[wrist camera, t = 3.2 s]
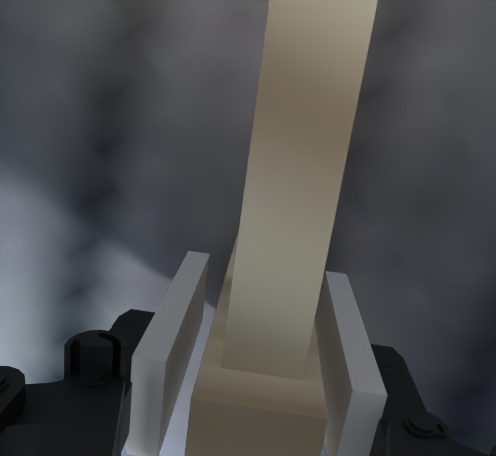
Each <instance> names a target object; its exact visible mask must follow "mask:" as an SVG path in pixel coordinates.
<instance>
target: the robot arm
mask: <svg viewBox="0 0 496 456" xmlns="http://www.w3.org/2000/svg"><path fill="white" fill-rule="evenodd" d="M209 255H210V254H207V253H201V252H194V251H188V253H187V255H186V256H185V258H184V260H183V262H182V264H181V266H180V268H179V269H178V271H177V273H176V275H175V277H174V279H173V281H172V283H171V284H170V286H169V288H168V290H167V292H166V294H165V296H164V298H163V299H162V301H161V303H160V305H159V307H158V309H157V311H156V312H155V313H154V312H147V311H141V310H134V309H131V310H129V311H127V312H125V313H124V314H122V315H120V316H119V317H118V318H117V320H116V321H115V323H114V324H113V326H112V328H111V329H110V330H109V331H105V330H90V331H86V332H82V333H78V334H77V335H75V336H73V337H71V338H70V339H69V340H68V341H67V342H66V344H65V346H64V379H63V380H61V381H57V382H50V383H39V384H25V376H24V374H23V373H22V372H21V371H20V370H19V369H16V368H13V367H10V366H0V456H121V451H122V449H123V446H124V444H125V442H126V439H127V449H126V454H130V455H136V456H159V453H160V450H161V446H162V443H163V440H164V437H165V434H166V431H167V428H168V425H169V422H170V419H171V416H172V413H173V409H174V406H175V403H176V400H177V397H178V394H179V391H180V388H181V385H182V382H183V379H184V375H185V372H186V369H187V366H188V363H189V360H190V357H191V354H192V351H193V348H194V345H195V342H196V338H197V335H198V332H199V329H200V326H201V323H202V317H203V308H204V299H205V291H206V282H207V273H208V264H209ZM315 330H316V337H317V344H318V352H319V359H320V366H321V373H322V381H323V388H324V395H325V402H326V409H327V417H328V421H327V426H326V430H325V435H324V444H325V452H326V456H489V455H487V454H484V453H481V452H479V451H476V450H473V449H471V448H468V447H465V446H463V445H461V444H459V443H457V442H455V441H453V440H452V436H451V433H450V431H449V429H448V427H447V426H446V425H445V424H444V423H443V422H442V421H441V420H440V419H438V418H437V417H435V416H434V415H432V414H431V413H428V412H427V411H426V409H425V406H424V404H423V402H422V400H421V397H420V395H419V393H418V390H417V388H416V386H415V384H414V382H413V379H412V377H411V374H410V372H408V371H409V370H408V368H407V365H406V363H405V361H404V358H403V357H402V356H401V355H400V354H398V353H397V352H396V351H395V350H394V349H393V348H392V347H388V346H381V345H374V344H370V342H369V339H368V336H367V333H366V330H365V327H364V324H363V321H362V318H361V315H360V312H359V309H358V306H357V303H356V300H355V297H354V294H353V291H352V288H351V285H350V282H349V279H348V277H347V274H343V273H336V272H329V271H325V275H324V280H323V285H322V290H321V295H320V300H319V305H318V310H317V315H316V320H315ZM490 456H496V445H494V446H493V448H492V451H491V453H490Z"/></svg>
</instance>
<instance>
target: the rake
mask: <svg viewBox="0 0 496 456" xmlns="http://www.w3.org/2000/svg"><path fill="white" fill-rule="evenodd" d="M377 2H378V0H269V6H268V14H267V21H266V29H265V36H264V44H263V52H262V59H261V67H260V74H259V82H258V89H257V97H256V105H255V112H254V120H253V127H252V135H251V143H250V150H249V158H248V165H247V173H246V180H245V188H244V196H243V203H242V211H241V218H240V226H239V230H238V233H237V237H236V240H235V244H234V247H233V251H232V255H231V258H230V262H229V265H228V269H227V272H226V276H225V279H224V283H223V287H222V290H221V294H220V297H219V301H218V304H217V308H216V311H215V315H214V319H213V322H212V326H211V329H210V333H209V336H208V340H207V343H206V347H205V351H204V354H203V358H202V361H201V365H200V368H199V372H198V375H197V379H196V383H195V386H194V390H193V393H192V397H191V403H190V412H189V421H188V430H187V439H186V448H185V456H320V452H321V448H322V444H323V439H324V435H325V430H326V426H327V421H328V417H327V409H326V402H325V395H324V388H323V381H322V373H321V366H320V359H319V352H318V344H317V337H316V330H315V323H314V320H315V314H316V309H317V304H318V299H319V294H320V289H321V284H322V279H323V274H324V269H325V264H326V259H327V254H328V249H329V244H330V239H331V234H332V229H333V224H334V219H335V214H336V209H337V204H338V199H339V194H340V189H341V184H342V179H343V174H344V168H345V163H346V158H347V153H348V148H349V143H350V138H351V133H352V128H353V123H354V118H355V113H356V108H357V103H358V98H359V93H360V88H361V83H362V78H363V73H364V68H365V63H366V58H367V53H368V48H369V43H370V38H371V33H372V28H373V23H374V17H375V12H376V7H377Z"/></svg>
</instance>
